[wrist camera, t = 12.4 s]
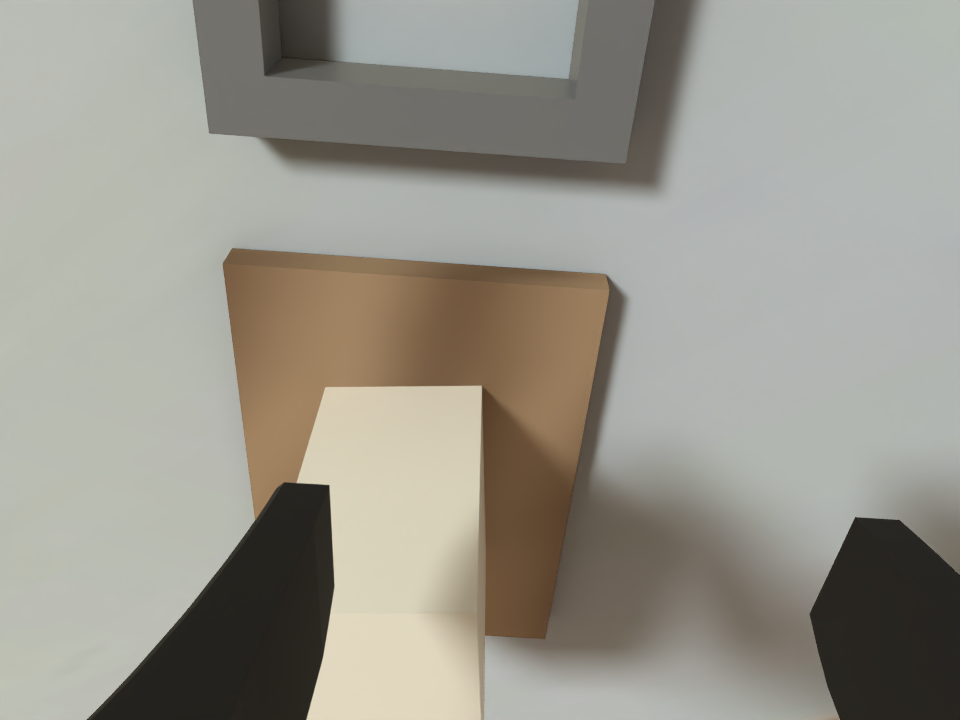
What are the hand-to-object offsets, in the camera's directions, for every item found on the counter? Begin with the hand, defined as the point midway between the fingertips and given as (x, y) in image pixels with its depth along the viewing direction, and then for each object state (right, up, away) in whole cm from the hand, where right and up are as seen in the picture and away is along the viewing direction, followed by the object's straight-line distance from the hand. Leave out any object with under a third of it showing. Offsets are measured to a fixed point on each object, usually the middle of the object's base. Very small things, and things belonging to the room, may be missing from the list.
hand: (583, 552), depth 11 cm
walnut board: (-3, 0, +12) cm, 12 cm away
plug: (-3, 0, +11) cm, 11 cm away
